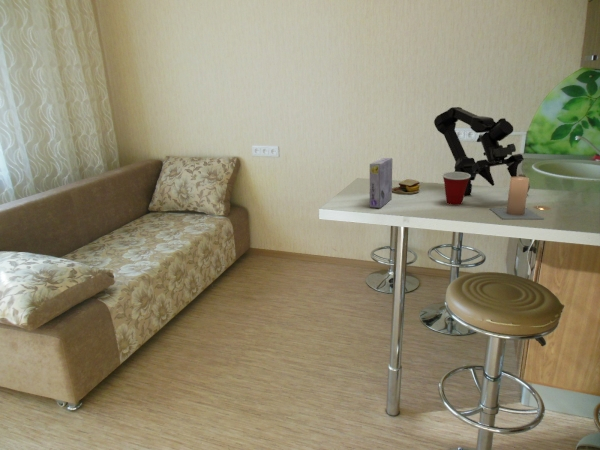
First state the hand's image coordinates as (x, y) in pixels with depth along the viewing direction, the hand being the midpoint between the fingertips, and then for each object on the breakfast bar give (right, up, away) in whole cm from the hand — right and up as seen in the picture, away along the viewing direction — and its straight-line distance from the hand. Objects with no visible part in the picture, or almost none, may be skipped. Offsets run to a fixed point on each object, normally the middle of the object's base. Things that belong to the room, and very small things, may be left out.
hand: (504, 183), depth 168 cm
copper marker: (+14, -9, 0) cm, 17 cm away
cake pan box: (-45, -7, +13) cm, 47 cm away
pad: (+1, -12, -7) cm, 14 cm away
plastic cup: (-16, -7, +10) cm, 20 cm away
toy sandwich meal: (-30, -1, +33) cm, 44 cm away
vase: (+16, -3, +21) cm, 27 cm away
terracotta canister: (+1, -12, -7) cm, 14 cm away
